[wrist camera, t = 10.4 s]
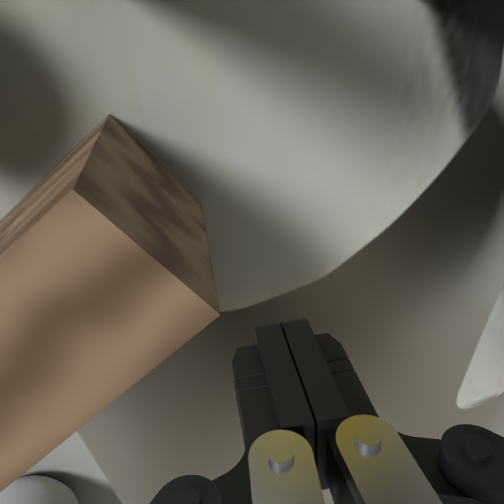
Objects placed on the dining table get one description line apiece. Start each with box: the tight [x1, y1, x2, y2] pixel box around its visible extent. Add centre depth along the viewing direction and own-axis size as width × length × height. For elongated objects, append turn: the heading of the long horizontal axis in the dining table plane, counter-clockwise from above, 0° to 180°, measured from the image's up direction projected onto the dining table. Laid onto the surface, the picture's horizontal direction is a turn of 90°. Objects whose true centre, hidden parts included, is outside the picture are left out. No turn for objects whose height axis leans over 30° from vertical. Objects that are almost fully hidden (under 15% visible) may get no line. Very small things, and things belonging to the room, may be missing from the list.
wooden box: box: [0, 114, 220, 492], centre depth 33 cm, size 10×22×16 cm, turn 130°
